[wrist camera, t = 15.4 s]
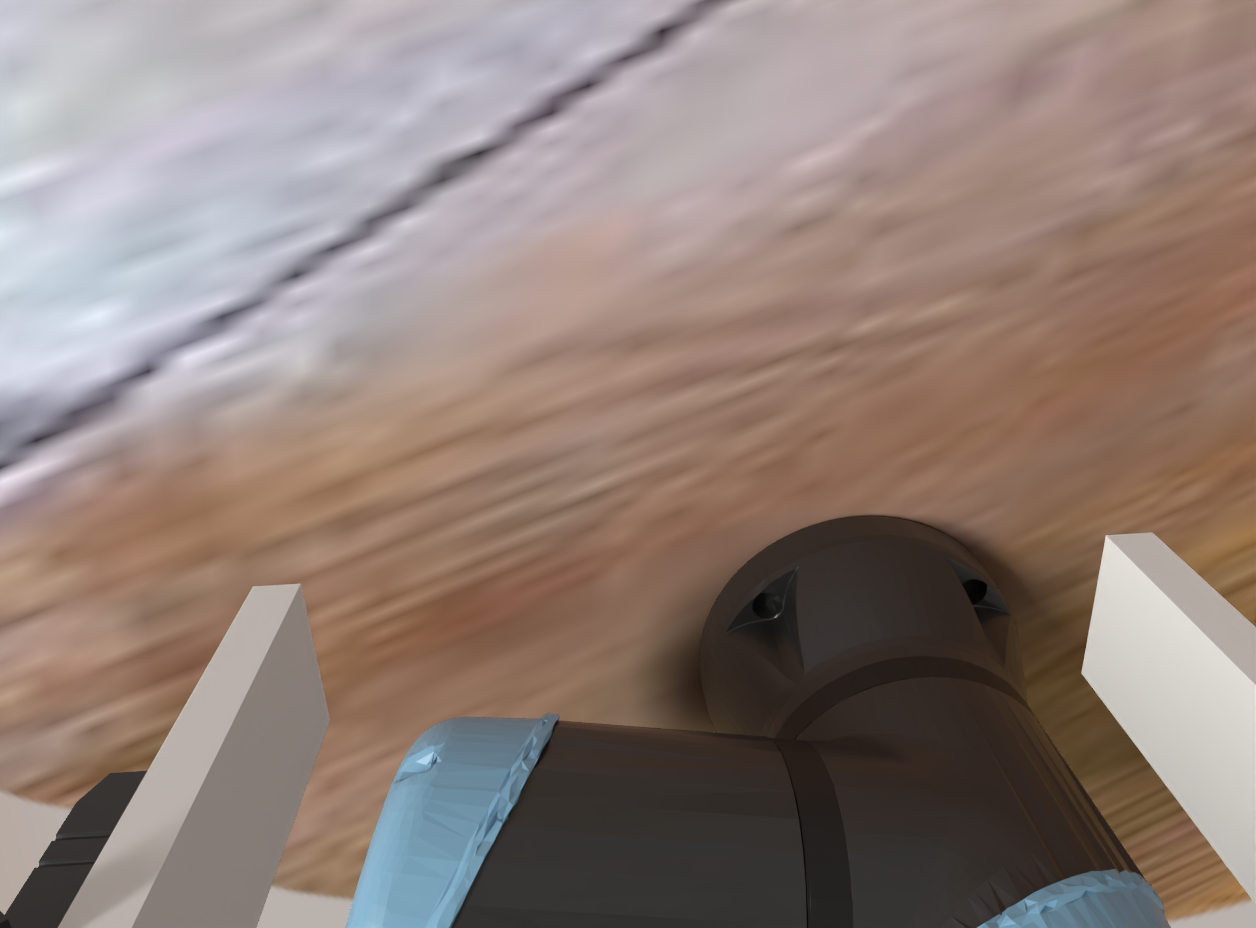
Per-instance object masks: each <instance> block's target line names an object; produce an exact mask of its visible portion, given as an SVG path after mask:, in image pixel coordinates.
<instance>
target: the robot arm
mask: <svg viewBox="0 0 1256 928" xmlns="http://www.w3.org/2000/svg"><path fill="white" fill-rule="evenodd" d="M699 662H700V673H701V680H702V685H703V691H704V696H705V701H706V706H707V710H708V713H709V716H710V719H711V721H712V724H713V726H714V728H715V730H716V732H717V733H713V732H700V731H687V730H674V729H661V728H648V727H635V726H622V725H609V724H596V723H583V722H570V721H558V720H559V717H560V716H559V714H550V713H548V714H546V715H544V716H543V717H542V718H541V719H527V718H490V717H458V718H452V719H448V720H445V721H442V722H440V723H438V724H436V725H434V726H432V727H431V728H429V729H428V730H427V731H425V732H424V733H423V734H422V735H421V736H420V737H419V738H418V739H417V740H416V741H415V742H414V744H413V745H412V746H411V748H410V749H409V751H408V752H407V754H406V756H405V757H404V759H403V761H402V763H401V765H400V767H399V769H398V771H397V773H396V775H395V778H394V780H393V782H392V785H391V787H390V790H389V792H388V795H387V798H386V800H385V803H384V806H383V809H382V811H381V814H380V817H379V820H378V823H377V826H376V828H375V831H374V834H373V837H372V840H371V843H370V847H369V850H368V853H367V856H366V860H365V863H364V866H363V869H362V872H361V876H360V879H359V882H358V885H357V889H356V892H355V896H354V899H353V903H352V907H351V910H350V914H349V917H348V921H347V925H346V928H1171V927H1170V925H1169V924H1168V922H1167V920H1166V918H1165V915H1164V909H1163V905H1162V902H1161V899H1160V897H1159V896H1158V895H1157V893H1156V892H1155V891H1154V889H1153V888H1152V887H1151V884H1148V883H1147V881H1146V880H1145V878H1144V877H1143V875H1142V874H1141V872H1140V871H1139V869H1138V868H1137V866H1136V865H1135V863H1134V862H1133V860H1132V859H1131V857H1130V856H1129V855H1128V853H1127V852H1126V850H1125V849H1124V847H1123V846H1122V844H1121V843H1120V841H1119V840H1118V838H1117V837H1116V835H1115V834H1114V832H1113V831H1112V829H1111V828H1110V826H1109V825H1108V823H1107V822H1106V820H1105V819H1104V818H1103V816H1102V815H1101V813H1100V812H1099V810H1098V809H1097V807H1096V806H1095V804H1094V803H1093V801H1092V800H1091V798H1090V797H1089V795H1088V794H1087V792H1086V791H1085V789H1084V788H1083V786H1082V785H1081V783H1080V782H1079V780H1078V779H1077V778H1076V776H1075V775H1074V773H1073V772H1072V770H1071V769H1070V767H1069V766H1068V764H1067V763H1066V761H1065V760H1064V758H1063V757H1062V755H1061V754H1060V752H1059V751H1058V749H1057V748H1056V746H1055V745H1054V743H1053V742H1052V741H1051V739H1050V738H1049V736H1048V735H1047V733H1046V732H1045V730H1044V729H1043V727H1042V726H1041V725H1040V723H1039V721H1038V720H1037V719H1036V717H1035V716H1034V714H1033V712H1032V711H1031V709H1030V708H1029V706H1028V703H1027V695H1026V688H1025V680H1024V673H1023V665H1022V658H1021V650H1020V643H1019V637H1018V631H1017V627H1016V624H1015V620H1014V618H1013V615H1012V613H1011V610H1010V608H1009V605H1008V603H1007V601H1006V600H1005V598H1004V596H1003V594H1002V593H1001V591H1000V590H999V588H998V587H997V585H996V584H995V583H994V581H993V580H992V578H991V577H990V576H989V574H988V573H987V571H986V570H985V569H984V567H983V566H982V565H981V564H980V562H979V561H978V560H977V559H976V558H975V557H974V556H973V555H972V554H971V553H970V552H969V551H968V550H967V549H966V548H965V547H963V546H962V545H961V544H959V543H958V542H957V541H955V540H954V539H952V538H950V537H949V536H947V535H945V534H943V533H941V532H940V531H938V530H935V529H933V528H930V527H928V526H925V525H922V524H919V523H916V522H912V521H908V520H904V519H898V518H891V517H880V516H860V517H849V518H842V519H836V520H831V521H827V522H822V523H819V524H816V525H812V526H809V527H807V528H804V529H801V530H799V531H796V532H794V533H792V534H790V535H787V536H786V537H784V538H782V539H780V540H778V541H776V542H775V543H773V544H771V545H770V546H768V547H767V548H765V549H764V550H762V551H761V552H759V553H758V554H757V555H755V556H754V557H753V558H752V559H751V560H749V561H748V562H747V563H746V564H745V565H744V566H743V567H742V568H741V569H740V570H739V571H738V572H737V573H736V574H735V575H734V576H733V577H732V578H731V580H730V581H729V582H728V583H727V585H726V586H725V587H724V589H723V590H722V592H721V593H720V594H719V596H718V598H717V599H716V601H715V603H714V605H713V607H712V609H711V611H710V613H709V615H708V618H707V621H706V623H705V627H704V630H703V634H702V639H701V645H700V660H699ZM1081 673H1082V675H1083V676H1084V677H1085V679H1086V680H1087V681H1088V683H1089V684H1090V685H1091V687H1092V688H1093V689H1094V691H1095V692H1096V693H1097V695H1098V696H1099V697H1100V699H1101V700H1102V701H1103V703H1104V704H1105V705H1106V707H1107V708H1108V709H1109V711H1110V712H1111V713H1112V715H1113V716H1114V717H1115V719H1116V720H1117V721H1118V723H1119V724H1120V725H1121V726H1122V728H1123V729H1124V730H1125V732H1126V733H1127V734H1128V736H1129V737H1130V738H1131V740H1132V741H1133V742H1134V744H1135V745H1136V746H1137V748H1138V749H1139V750H1140V752H1141V753H1142V754H1143V756H1144V757H1145V758H1146V760H1147V761H1148V762H1149V764H1150V765H1151V766H1152V768H1153V769H1154V770H1155V772H1156V773H1157V774H1158V776H1159V777H1160V778H1161V780H1162V781H1163V782H1164V784H1165V785H1166V786H1167V788H1168V789H1169V790H1170V791H1171V793H1172V794H1173V795H1174V797H1175V798H1176V799H1177V801H1178V802H1179V803H1180V805H1181V806H1182V807H1183V809H1184V810H1185V811H1186V813H1187V814H1188V815H1189V817H1190V818H1191V819H1192V821H1193V822H1194V823H1195V825H1196V826H1197V827H1198V829H1199V830H1200V831H1201V833H1202V834H1203V835H1204V837H1205V838H1206V839H1207V841H1208V842H1209V843H1210V845H1211V846H1212V847H1213V849H1214V850H1215V851H1216V852H1217V854H1218V855H1219V856H1220V858H1221V859H1222V860H1223V862H1224V863H1225V864H1226V866H1227V867H1228V868H1229V870H1230V871H1231V872H1232V874H1233V875H1234V876H1235V878H1236V879H1237V880H1238V882H1239V883H1240V884H1241V886H1242V887H1243V888H1244V890H1245V891H1246V892H1247V894H1248V895H1249V896H1250V898H1251V899H1252V900H1253V902H1254V903H1255V904H1256V627H1255V626H1254V625H1253V624H1252V623H1251V622H1250V621H1248V620H1247V619H1246V618H1245V617H1244V616H1243V615H1242V614H1241V613H1240V612H1239V611H1238V610H1236V609H1235V608H1234V607H1233V606H1232V605H1231V604H1230V603H1229V602H1228V601H1227V600H1226V599H1224V598H1223V597H1222V596H1221V595H1220V594H1219V593H1218V592H1217V591H1216V590H1215V589H1213V588H1212V587H1211V586H1210V585H1209V584H1208V583H1207V582H1206V581H1205V580H1204V579H1203V578H1201V577H1200V576H1199V575H1198V574H1197V573H1196V572H1195V571H1194V570H1193V569H1192V568H1191V567H1189V566H1188V565H1187V564H1186V563H1185V562H1184V561H1183V560H1182V559H1181V558H1180V557H1179V556H1177V555H1176V554H1175V553H1174V552H1173V551H1172V550H1171V549H1170V548H1169V547H1168V546H1166V545H1165V544H1164V543H1163V542H1162V541H1161V540H1160V539H1159V538H1158V537H1157V536H1156V535H1154V534H1153V533H1135V534H1119V535H1106V538H1105V544H1104V549H1103V555H1102V561H1101V566H1100V572H1099V577H1098V583H1097V589H1096V594H1095V600H1094V605H1093V611H1092V616H1091V622H1090V628H1089V633H1088V639H1087V644H1086V650H1085V655H1084V661H1083V667H1082V672H1081ZM329 722H330V718H329V714H328V709H327V704H326V700H325V695H324V690H323V685H322V681H321V676H320V671H319V667H318V662H317V657H316V653H315V648H314V643H313V639H312V634H311V629H310V625H309V620H308V615H307V610H306V606H305V601H304V596H303V592H302V587H301V584H287V585H271V586H254V587H252V589H251V591H250V593H249V594H248V596H247V598H246V600H245V601H244V603H243V605H242V607H241V608H240V610H239V612H238V614H237V615H236V617H235V619H234V621H233V622H232V624H231V626H230V628H229V629H228V631H227V633H226V635H225V636H224V638H223V640H222V642H221V643H220V645H219V647H218V649H217V650H216V652H215V654H214V656H213V657H212V659H211V661H210V663H209V664H208V666H207V668H206V670H205V671H204V673H203V675H202V677H201V678H200V680H199V682H198V684H197V685H196V687H195V689H194V691H193V692H192V694H191V696H190V698H189V699H188V701H187V703H186V705H185V706H184V708H183V710H182V712H181V713H180V715H179V717H178V718H177V720H176V722H175V724H174V725H173V727H172V729H171V731H170V732H169V734H168V736H167V738H166V739H165V741H164V743H163V745H162V746H161V748H160V750H159V752H158V753H157V755H156V757H155V759H154V760H153V762H152V764H151V766H150V767H149V769H148V771H139V772H123V773H110V774H109V775H108V776H106V777H105V778H104V779H103V780H102V781H101V782H100V783H98V784H97V785H96V786H95V787H94V788H93V789H91V790H90V791H89V792H88V793H87V794H86V795H85V796H83V797H82V798H81V799H80V800H79V801H78V802H77V803H76V804H75V806H74V807H73V809H72V810H71V812H70V814H69V815H68V817H67V818H66V820H65V821H64V823H63V824H62V826H61V828H60V829H59V831H58V833H57V834H56V840H55V841H52V842H51V843H50V845H49V847H48V848H47V850H46V851H45V853H44V854H43V856H42V857H41V859H40V861H39V867H38V868H34V870H33V871H32V873H31V875H30V876H29V878H28V879H27V881H26V882H25V884H24V885H23V887H22V889H21V890H20V892H19V894H18V895H17V896H16V898H15V900H14V901H13V903H12V904H11V906H10V907H9V909H8V911H7V912H6V914H5V915H4V914H3V913H2V912H1V911H0V928H256V927H257V924H258V921H259V918H260V916H261V913H262V910H263V907H264V904H265V902H266V898H267V896H268V893H269V890H270V888H271V885H272V882H273V879H274V876H275V874H276V871H277V868H278V865H279V862H280V859H281V857H282V854H283V851H284V848H285V845H286V843H287V840H288V837H289V834H290V831H291V829H292V826H293V823H294V820H295V817H296V814H297V812H298V809H299V806H300V803H301V800H302V798H303V795H304V792H305V789H306V786H307V784H308V781H309V778H310V775H311V772H312V769H313V767H314V764H315V761H316V758H317V755H318V753H319V750H320V747H321V744H322V741H323V739H324V736H325V733H326V730H327V727H328V725H329Z"/></svg>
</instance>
